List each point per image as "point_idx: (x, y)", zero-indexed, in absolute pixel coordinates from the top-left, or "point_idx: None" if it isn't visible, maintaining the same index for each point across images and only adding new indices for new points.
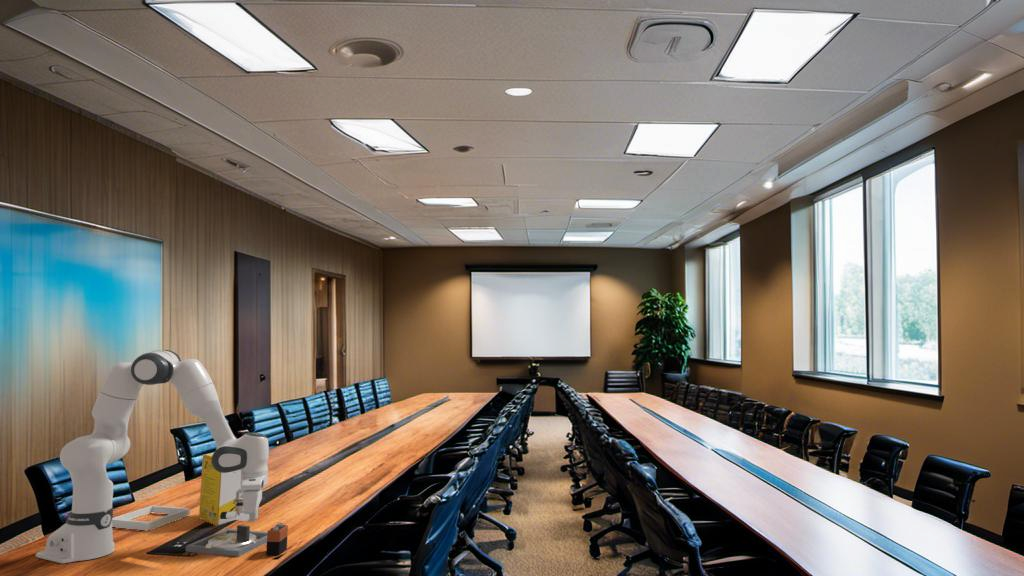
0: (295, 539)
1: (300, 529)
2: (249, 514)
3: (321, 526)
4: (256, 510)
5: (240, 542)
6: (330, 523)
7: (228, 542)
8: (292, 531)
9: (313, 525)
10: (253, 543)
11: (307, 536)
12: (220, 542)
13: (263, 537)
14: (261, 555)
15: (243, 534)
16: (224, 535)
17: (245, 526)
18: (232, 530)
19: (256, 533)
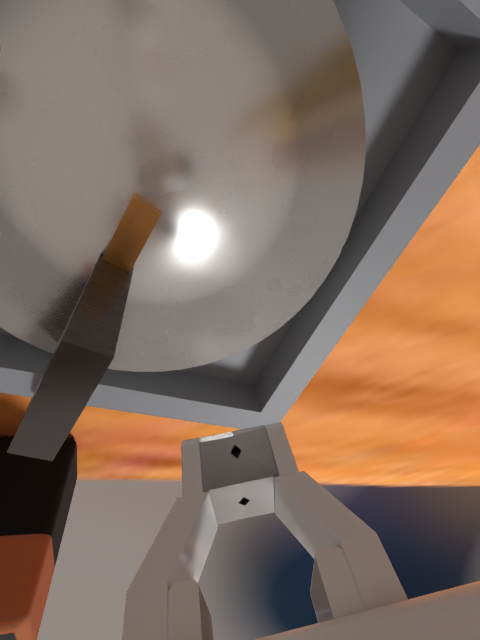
0: None
1: (420, 429)
2: (156, 541)
3: (422, 473)
4: (314, 556)
5: (49, 302)
6: (444, 484)
7: (28, 191)
8: (405, 412)
9: (450, 451)
10: None
11: (308, 471)
12: (11, 86)
13: (187, 404)
14: (18, 399)
15: (51, 357)
16: (300, 61)
17: (29, 433)
18: (459, 114)
19: (307, 335)
